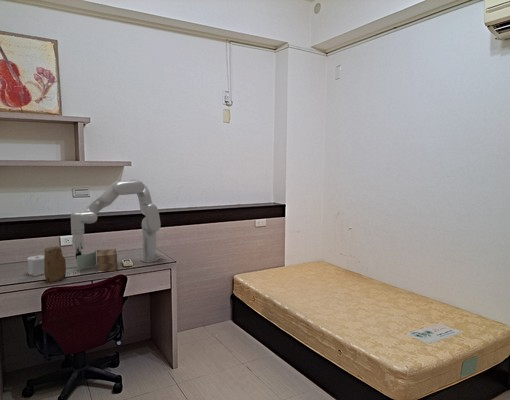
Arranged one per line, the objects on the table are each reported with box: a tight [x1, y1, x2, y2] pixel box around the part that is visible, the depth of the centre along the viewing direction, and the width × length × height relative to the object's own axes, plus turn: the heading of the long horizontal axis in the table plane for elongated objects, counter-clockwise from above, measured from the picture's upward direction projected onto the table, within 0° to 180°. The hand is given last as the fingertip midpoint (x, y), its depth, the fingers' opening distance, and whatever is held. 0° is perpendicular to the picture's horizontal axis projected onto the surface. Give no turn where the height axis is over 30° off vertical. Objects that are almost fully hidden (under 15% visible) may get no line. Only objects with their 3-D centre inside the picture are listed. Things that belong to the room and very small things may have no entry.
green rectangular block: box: [76, 250, 97, 271], centre depth 246 cm, size 3×14×10 cm, turn 152°
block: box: [43, 245, 67, 283], centre depth 223 cm, size 11×8×20 cm
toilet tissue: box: [26, 254, 45, 277], centre depth 234 cm, size 11×12×10 cm
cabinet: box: [96, 248, 118, 272], centre depth 248 cm, size 12×14×11 cm
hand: (78, 258), depth 244 cm, fingers closed
